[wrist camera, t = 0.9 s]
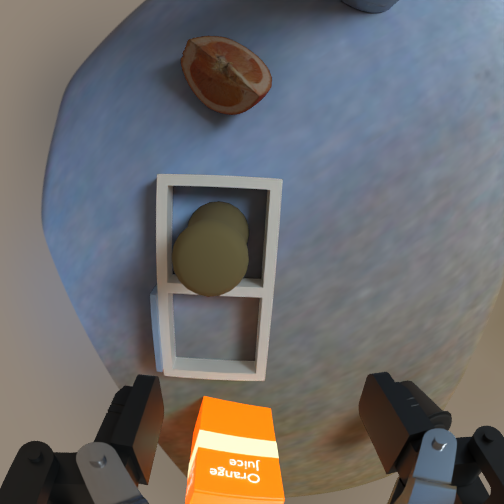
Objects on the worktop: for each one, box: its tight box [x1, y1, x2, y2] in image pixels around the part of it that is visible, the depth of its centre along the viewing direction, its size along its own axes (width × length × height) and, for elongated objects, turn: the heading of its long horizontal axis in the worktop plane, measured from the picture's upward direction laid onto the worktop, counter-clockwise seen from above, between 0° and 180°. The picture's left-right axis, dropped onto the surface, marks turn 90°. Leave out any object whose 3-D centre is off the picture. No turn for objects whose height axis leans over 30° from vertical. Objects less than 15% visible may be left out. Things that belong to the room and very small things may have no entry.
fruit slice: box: [181, 36, 272, 115], centre depth 23 cm, size 8×7×5 cm
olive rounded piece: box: [172, 201, 249, 297], centre depth 24 cm, size 6×6×11 cm
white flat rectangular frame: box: [150, 174, 283, 381], centre depth 29 cm, size 21×12×3 cm, turn 176°
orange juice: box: [185, 396, 285, 504], centre depth 26 cm, size 8×9×20 cm
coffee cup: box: [400, 381, 452, 431], centre depth 32 cm, size 8×8×10 cm
